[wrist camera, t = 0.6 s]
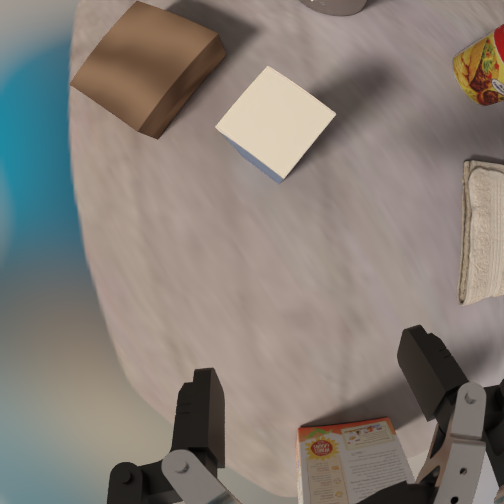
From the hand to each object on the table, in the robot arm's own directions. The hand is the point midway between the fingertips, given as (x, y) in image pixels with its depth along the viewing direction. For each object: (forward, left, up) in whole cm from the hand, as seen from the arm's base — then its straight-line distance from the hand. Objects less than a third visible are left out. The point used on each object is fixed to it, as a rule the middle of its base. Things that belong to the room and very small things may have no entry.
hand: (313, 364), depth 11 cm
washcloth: (-19, +19, -20) cm, 34 cm away
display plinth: (-7, -25, -19) cm, 32 cm away
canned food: (-34, +5, -19) cm, 40 cm away
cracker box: (+16, +24, -19) cm, 35 cm away
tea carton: (-7, -8, -19) cm, 22 cm away
